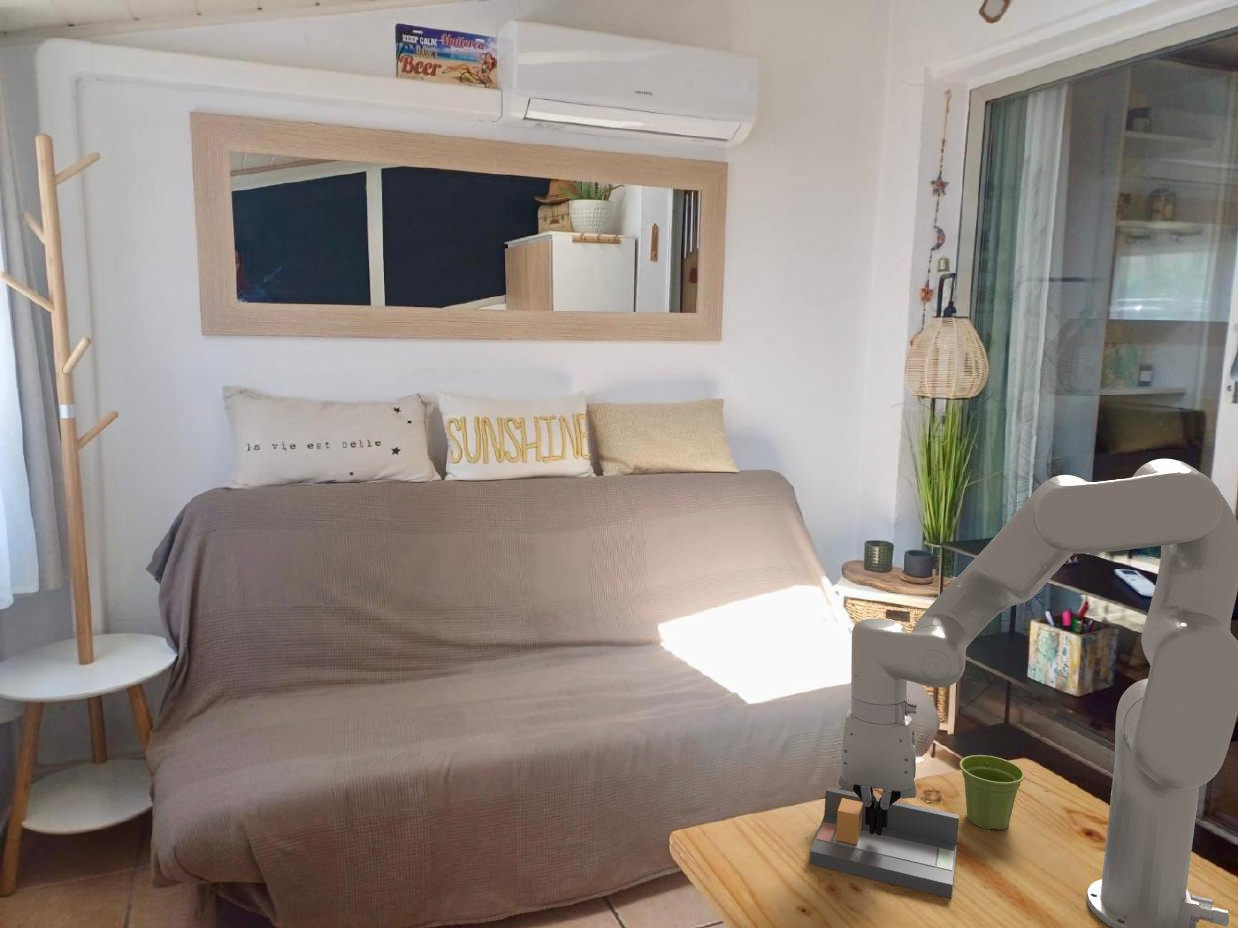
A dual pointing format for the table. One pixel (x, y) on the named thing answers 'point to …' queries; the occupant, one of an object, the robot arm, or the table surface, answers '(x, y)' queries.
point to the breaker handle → (849, 821)
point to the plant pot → (990, 789)
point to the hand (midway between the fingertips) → (876, 829)
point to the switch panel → (892, 846)
